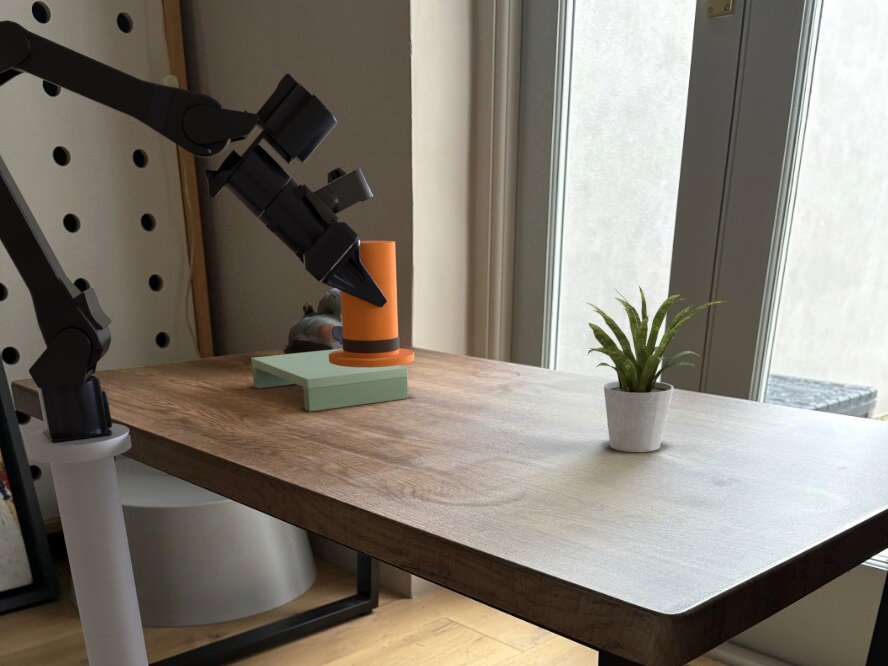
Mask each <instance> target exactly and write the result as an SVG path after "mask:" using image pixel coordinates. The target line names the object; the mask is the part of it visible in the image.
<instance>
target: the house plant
mask: <svg viewBox="0 0 888 666" xmlns="http://www.w3.org/2000/svg"><path fill="white" fill-rule="evenodd" d="M638 288H639V293H640V296H641V297H640V298H641V309H640V310H641V318H640V315H639V313H638V311H637V309H636V308H635V307H634V306H633V305H632V304H630V303H629V301H628V300H627V299H626V297H624V296H623V295H622V294H621V293H620V292H619V291H618V290H617V289H616V288H615V287H614V288H613V289H614V290H615V291H616V292H617V293H618V294H619V295H620V296H621V297H622V298H623V299H621V298H618V297H615V299H616V300H617V301H618V302H619V303H620V304H621V305H622V306H623V307H622V309H623V310H625V312H626V314H627V317H628V322H629V328H630V333H631V337H632V343H633V348H634V352H633V351H632V348H631V347H632V346H631V343H630V340H629V339H628V337H627V336H626V334H625V333H624V331H623V330H622V329H621V328H620V326H618V324H617V322H615V321H614V319H612V318H611V317H610V316H609V315H607V313H606V312H604V311H603V310H601V308H599V307H597V306H596V305H594V304H592V303H590V302H586V301H583V302H584V303H586V304H588V305H589V306H591V307H592V308H593V312H595V313H597V314H599V315H600V316H601V317H602V319H603V320H604V323H605V325H607V326H608V328H609V329H610V330H611V332H612V333H613V334H614V336H615V337H616V340H617V341H618V343H619V346H620V348H621V349H620V348H619V347H618V345H617V343H616V342H615V341H614V340H613V339H612V338H611V337H610V335H608V334H607V333H606V331H604V330H603V328H601V327H600V326H599V325H598V324H594V323H591V322H588V326H589V328H590V329H591V330H592V332H593V333H592V334H593V335H594V338H595V340H596V341H597V342H598V343H599V344H600V345H601V347H597V348H594V347H592V348H591V347H590V348H588V349H589V350H588V352H587V355H589V354H590V353H592V352H598V353H601V355H603V354H604V355H606V356H608V357H609V358H610V360H611V361H612V362H613V364H614V366H612V365H610V364H608V363H607V362H600V363H599V364H597V365H596V368H598V367H599V366H603V367H604V366H605V367H610V368H611V369H613V370H614V371H615V372H616V374H617V379H618V380H616V381H612V382H611V381H610V382H608V383H605V384H604V385H603V393H604V403H605V411H606V421H607V429H608V438H609V447H610V448H611V449H614V450H617V451H621V452H627V453H645V452H646V453H647V452H653V451H657V450H659V449H660V448H661V444H662V439H663V435H664V431H665V426H666V422H667V418H668V415H669V410H670V406H671V402H672V399H673V394H674V389H675V388H674V385H672V384H670V383H667V382H662V381H658V379H659V377H660V376H661V374H662V373H663V372H664V371H665V370H667V369H670V368H673V367H677V366H685V365H686V366H687V365H690V366H693V367H694V366H695V367H696V365H694V364H692V363H691V362H690V361H683V360H682V361H681V360H680V361H675V362H673V360H674V359H676V358H678V357H680V356H683V355H687V354H694V355H696V356H698V357H700V355H699V354H698V353H696V352H694V351H691V350H684V351H680V352H678V353H676V354H674V355H672V356H671V357H670V358H669V359H668V360H666V361H665V363H664V364H663V366H662V368H660V369H659V365H660V364H661V362H662V361H663V360H665V359H666V357H664V356H663V355H664V354H665V351H666V349H667V347H668V346H669V344H670V343H671V341H672V340H674V339H675V338H676V334H677V333H678V332H679V331H680V329H681V328H682V327H683V326H684V325H685V323H686V322H688V320H690V319H691V318H692V317H693V315H695V314H696V313H698V312H699V311H701V310H702V309H704V308H707V307H709V306H711V305H715V304H720V303H727V302H729V300H719V301H718V300H717V301H711V302H707V303H704V304H702V305H700V306H698V307H696V308H695V309H693V310H692V311H690V308H691V307H693V306H694V304H692V305H690V306H688V307H686V308H684V309H683V310H681V311H679V312H678V313H677V314H676V315H675V316H674V317H673V319H672V320H671V322H670V323H669V325H668V327H667V328H666V330H665V331H664V333H663V335H662V336H661V340H660V341H659V344H658V346H656V343H657V341H658V337H659V332H660V329H661V327H662V325H663V322H664V320H665V317H666V315H667V314H668V312H669V311H670V308H671V307H672V306H673V305H674V304H675V303H677V302H679V301H682V300H687V299H688V297H683V298H680V299H677V298H678V297H680V296H681V293H677V294H673V295H671V296H669V297H667V298H666V299H665V300H664V301H663V302H662V304H661V305H660V306H659V308H658V309H657V311H656V312H655V315H654V316H653V319H652V322H651V327H650V331H649V326H648V323H649V321H650V320H649V315H648V311H647V301H646V297H645V293H644V291H643V289H642V288H641V286H640V285H638ZM676 299H677V300H676ZM689 311H690V312H689ZM687 312H689V313H688V314H687V315H686V316H685V317H684V318H682V317H683V316H684V314H685V313H687ZM648 332H649V334H648ZM634 354H635V355H634ZM658 369H659V370H658Z"/></svg>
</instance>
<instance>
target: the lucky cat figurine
mask: <svg viewBox="0 0 888 666" xmlns="http://www.w3.org/2000/svg"><path fill="white" fill-rule="evenodd" d="M316 309H317V310H316V311H315V310H314V307H313V304H312V303H310V302H308V301H307V302H305V304H304V305H303V306H302V311H303V314H304V315H303V316H301V318H299V319H297V320H296V321H295V322H294V323H293V324H292V325H291V327H290V329H289V332H288V337H287V339H288V344H286V345H285V346H283V349H282V351H283V353H284V355H285V354H294V353H304V352H314V351H323V350H333V349H343V342H342V337H343V327H342V309H341V292H340V290H338V289H336V288H333V287H332V288H331V289H330V290H329V291H327V292H326V293H325V294H324V295H323V296H322V297H321V298H320V300H319V301H318V305H317V307H316Z"/></svg>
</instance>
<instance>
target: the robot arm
mask: <svg viewBox="0 0 888 666" xmlns="http://www.w3.org/2000/svg"><path fill="white" fill-rule="evenodd" d="M24 73H25V74H29V75H31V76H34V77H36V78H38V79H40V80H43V81H45V82H48V83H50V84H53V85H55V86H58V87H59V88H62V89H64V90H66V91H69V92H71V93H73V94H76V95H79V96H81V97H83V98H85V99H87V100H90V101H93V102H95V103H98V104H100V105H102V106H104V107H107V108H109V109H112V110H114V111H117V112H119V113H121V114H124V115H126V116H129V117H130V118H133V119H135V120H137V121H139V122H141V123H142V124H144V125H145V126H147V127H148V128H150V129H152V130H154V131H155V132H156V133H158V134H160V135H161V136H162V137H164V138H166V139H167V140H169V141H171V142H172V143H173V144H175V145H177V146H178V147H180V148H182V149H184V150H185V151H187V152H188V153H190V154H192V155H193V156H195V157H198V158H202V159H215V158H217V157H218V156H220V155H222V154H223V153H225V151H226V150H227V149H228V147H229V145H230V144H232V143H237V142H240V141H244V140H248V139H249V138H250V137H251V136H252V135H253V133H254V132H255V131H256V130H257V129H258V128H259V129H260V130H261V132H260V133H259V134H258V135H257V136H256V137H255V139H254V140H253V142H252V143H251V144H250V145H249V146H248V148H247V149H246V150H245V151H244V152H243V153H242V155H240V154H239V153H238V152H237V151H236V150H234V149H231V150H230V152H229V154H228V155H226V157H225V158H224V160H223V161H222V162H221V163H220V165H218V167H217V168H216V169H215V170H214V169H213V170H212V169H205V170H204V176H205V178H206V181H207V190H208V191H207V195H208V197H209V198H212V199H214V198H217V196H218V195H219V194H220V193H221V192H222V191H223V189H224V188H226V190H228V191H229V192H230V193H231V194H232V195H233V196H234V197H235V198H236V199H237V200H238V201H239V202H240V203H241V204H242V205H243V206H245V208H247V210H249V212H251V213H252V214H253V216H255V217H256V218H258V220H259V221H260V222H261V223H262V224H263V225H264V226H265V227H266V228H267V230H269V231H270V232H271V233H273V234H274V235H275V236H276V237H277V238H278V239H279V240H280V241H281V242H282V243H283V244H284V245H285V246H286V247H287V248H288V249H290V251H292V252H293V253H294V255H295V256H296V257H297V258H298V259H299V261H300V262H301V263H302V264H303V267H304V269H305V270H306V271H307V272H308V273H309V274H310V275H311V276H312V277H313V278H314V279H315V280H317V282H320V283H321V284H323V285H327V286H329V287H330V288H332V289H333V288H336V289H338V290H340V291H343V292H345V293H347V294H350V295H352V296H355V297H357V298H359V299H362V300H364V301H366V302H369V303H371V304H373V305H376V306H378V307H383V306H384V305H385V304H386V302H387V299H386V297H385V296H384V295H383V293H382V292H381V290H380V289H379V287H378V286H377V284H376V283H375V281H374V280H373V279H372V277H371V276H370V274H369V273H368V271H367V270H366V268H365V267H364V265H363V264H362V262H361V261H360V241H361V240H360V238H359V235H358V234H357V233H356V231H355V230H353V229H352V227H350V225H349V224H347V222H346V221H345V222H344V221H339V220H340V218H339V217H338V215H337V214H339V213H341V212H342V211H345V210H347V209H348V208H349V207H351V206H353V205H355V204H358V203H359V202H361V203H363V202H365V201H367V200H369V199H370V198H372V197H373V196H374V194H373V193H372V190H371V188H370V186H369V184H368V182H367V180H366V177H365V175H364V173H363V171H362V168H361V167H357V168H354V169H353V170H351V171H348V172H346V171H344V170H343V169H342V168H341V167H339V166H338V167H336V168H334V169H333V170H330V171H329V172H327V173H326V184H325V185H322V186H321V187H319V188H317V189H315V190H311V188H309V187H308V185H306V184H305V183H304V184H301V183H299V182H298V181H297V180H296V179H295V178H294V177H293V176H292V175H291V174H290V173H289V172H288V171H287V169H285V168H284V167H283V166H282V165H281V164H280V163H279V162H278V161H277V160H276V159H275V158H274V157H273V156H272V155H271V154H270V153H269V152H268V151H267V150H266V149H265V148H264V147H263V146H262V145H261V143H262V142H263V141H264V142H265V143H266V144H268V146H269V147H270V148H271V149H272V150H273V151H274V152H275V153H276V154H277V155H278V156H279V157H280V158H281V159H282V160H283V161H284V162H285V163H287V165H289V166H290V165H291V164H292V162H294V160H295V159H297V161H298V162H300V163H301V164H303V165H304V164H305V163H306V162H307V160H308V159H309V158H310V157H311V156H312V154H313V153H314V152H315V151H316V149H317V148H318V147H319V146H320V145H321V143H322V142H323V141H324V140H325V139H326V138H327V136H329V134H330V133H331V132H332V131H333V129H335V127H336V126H337V125H338V120H337V119H336V118H335V116H334V115H333V114H332V112H331V111H330V110H329V109H328V107H326V105H325V104H324V103H323V102H322V101H321V100H320V99H319V98H318V97H317V96H316V95H315V94H314V93H313V94H311V92H309V91H308V90H307V89H306V88H305V87H304V86H303V85H302V84H300V82H298V81H297V80H296V79H295V78H294V77H293V76H292V75H291V74H290V73H285V74H284V75H283V77H282V78H281V79H280V81H279V82H278V83H277V86H276V88H275V90H274V91H273V92H272V94H271V95H270V96H269V97H268V99H267V100H266V101H265V102H264V103H263V105H261V106H260V109H259V110H257V112H256V113H253V112H249V111H248V110H246V109H244V111H241V110H235V109H234V110H233V109H228V108H224V106H223V105H222V104H221V103H220V102H219V101H218V100H216V99H215V98H213V97H212V96H210V95H208V94H205V93H201V92H196V91H193V90H189V89H185V88H180V87H177V86H171V85H165V84H159V83H156V82H151V81H148V80H142V79H140V78H138V77H136V76H134V75H131V74H129V73H126V72H124V71H122V70H119V69H117V68H115V67H113V66H111V65H108V64H106V63H103V62H101V61H98V60H96V59H94V58H92V57H89V56H88V55H85V54H83V53H80V52H78V51H76V50H73V49H71V48H69V47H68V46H67V47H66V46H64V45H62V44H59V43H57V42H56V41H53V40H51V39H49V38H46V37H45V36H41V35H39V34H37V33H35V32H32V31H30V30H28V29H27V28H26V27H25V26H23V25H21V24H20V23H17V22H16V21H12V20H8V19H7V20H0V88H1V87H3V86H4V85H5V84H7V83H8V82H10V81H12V80H13V79H15V78H16V77H18V76H20V75H22V74H24ZM0 242H1V244H2V245H3V247H4V249H5V251H6V253H7V254H8V256H9V258H10V259H11V262H12V263H13V265H14V267H15V269H16V270H17V272H18V274H19V275H20V277H21V279H22V280H23V283H24V284H25V287H26V288H27V290H28V291H29V295H30V296H31V301H32V305H33V306H32V307H33V311H34V314H35V318H36V323H37V325H38V329H39V331H40V333H41V336H42V339H43V341H44V344H45V346H46V349H45V350H44V351H43V352H42V353H41V354H40V356H39V357H38V358H37V359H36V361H34V363H33V364H32V365H31V366H30V367H29V370H28V373H29V375H30V377H31V378H32V380H33V382H34V384H35V385H36V388H37V394H38V399H39V405H40V408H41V409H40V410H41V412H42V413H41V414H42V418H43V424H44V427H43V428H42V429H43V433H44V434H45V435H46V437H47V438H48V439H49V440H50V441H51V442H52V443H60V442H68V441H75V440H82V439H90V438H97V437H105V436H111V435H112V431H111V430H110V429H109V428H111V427H112V423H113V422H112V415H111V408H110V403H109V396H108V393H107V391H105V390H104V389H102V386H101V379H100V378H98V377H97V376H95V375H94V374H95V373H96V371H97V366H98V362H100V361H101V360H102V359H103V358H104V356H105V355H106V354H107V353H108V351H109V349H110V346H111V342H112V333H111V330H110V327H109V325H110V324H111V323H112V322H113V320H112V319H111V318H110V317H109V316H108V315H107V314H106V313H105V311H104V310H103V309H102V306H101V304H100V301H99V299H98V296H97V293H96V291H95V289H94V288H93V287H90V288H88V289H86V290H84V291H81V290H80V289H79V288H78V287H77V286H76V284H74V283H73V282H72V281H71V279H70V278H69V277H68V276H67V274H66V272H65V270H64V269H63V267H62V266H61V263H60V262H59V261H60V260H59V259H58V258H57V255H56V254H55V252H54V250H53V248H52V247H51V245H50V243H49V241H48V239H47V238H46V236H45V234H44V233H43V230H42V228H41V226H40V225H39V223H38V221H37V219H36V217H35V216H34V214H33V212H32V210H31V209H30V207H29V205H28V202H27V201H26V199H25V197H24V195H23V194H22V192H21V190H20V188H19V186H18V185H17V182H16V181H15V179H14V177H13V175H12V174H11V172H10V170H9V168H8V166H7V164H6V162H5V160H4V159H3V157H2V155H1V154H0Z"/></svg>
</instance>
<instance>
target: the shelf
mask: <svg viewBox="0 0 888 666" xmlns="http://www.w3.org/2000/svg"><path fill="white" fill-rule="evenodd" d="M337 350H342V349H333V350H323V351H314V352H304V353H294V354H285V353H284V354H276V355H266V356H257V357H251V358H250V360H251V361H250V362H251V369H252V370H251V371H252V380H253V387H254V388H256V389H264V388H273V387H280V386H290V385H297V386H299V387H303V388H302V389H303V402H304V403H303V404H304V410H305V411H308V412H317V411H325V410H330V409H331V410H332V409H339V408H346V407H353V406H362V405H369V404H376V403H383V402H391V401H398V400H406V399H409V389H408V388H409V387H408V386H409V385H408V367H406V366H403V365H396V366H388V367H345V366H338V365H334V364H331V363H330V362H329V354H330V353H331V352H334V351H337Z"/></svg>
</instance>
